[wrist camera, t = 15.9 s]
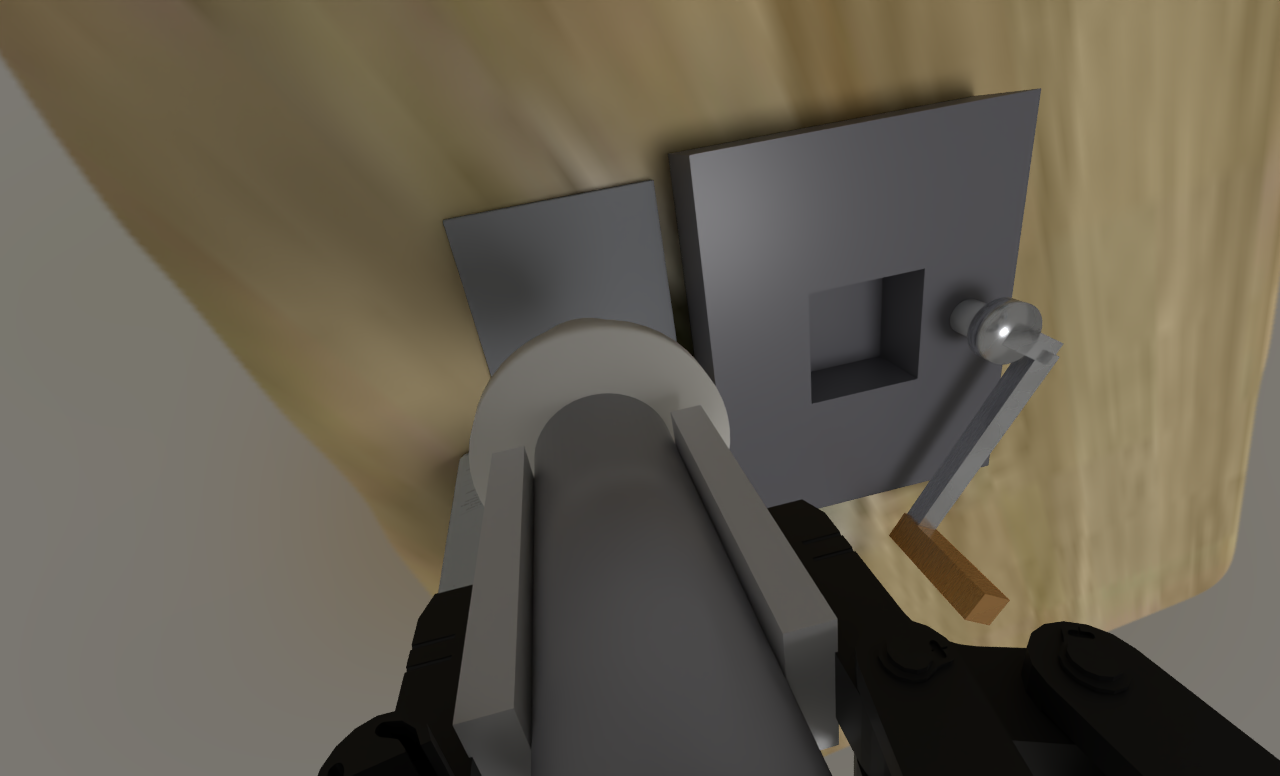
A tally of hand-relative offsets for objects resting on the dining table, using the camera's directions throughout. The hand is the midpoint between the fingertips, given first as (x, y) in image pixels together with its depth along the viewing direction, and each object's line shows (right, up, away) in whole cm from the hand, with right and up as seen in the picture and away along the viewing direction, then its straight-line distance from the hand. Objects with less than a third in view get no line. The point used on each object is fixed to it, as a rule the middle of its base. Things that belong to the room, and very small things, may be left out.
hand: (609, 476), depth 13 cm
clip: (+17, 0, +15) cm, 22 cm away
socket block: (+12, +6, +18) cm, 22 cm away
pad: (-3, +7, +15) cm, 16 cm away
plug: (-1, +2, +5) cm, 6 cm away
